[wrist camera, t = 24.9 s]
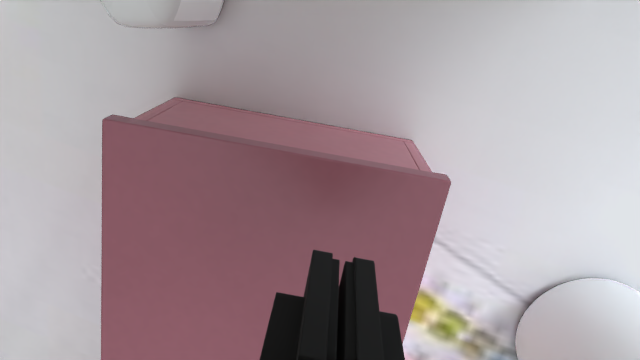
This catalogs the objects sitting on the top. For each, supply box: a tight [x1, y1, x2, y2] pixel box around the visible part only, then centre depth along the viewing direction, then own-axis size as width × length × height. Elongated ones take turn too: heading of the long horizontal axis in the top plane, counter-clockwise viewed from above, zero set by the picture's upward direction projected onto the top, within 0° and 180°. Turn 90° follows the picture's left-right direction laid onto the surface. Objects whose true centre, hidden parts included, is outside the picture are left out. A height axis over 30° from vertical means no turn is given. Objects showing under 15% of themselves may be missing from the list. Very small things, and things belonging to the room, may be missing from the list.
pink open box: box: [134, 97, 432, 172], centre depth 24 cm, size 15×13×7 cm
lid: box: [101, 115, 451, 360], centre depth 20 cm, size 16×13×1 cm
